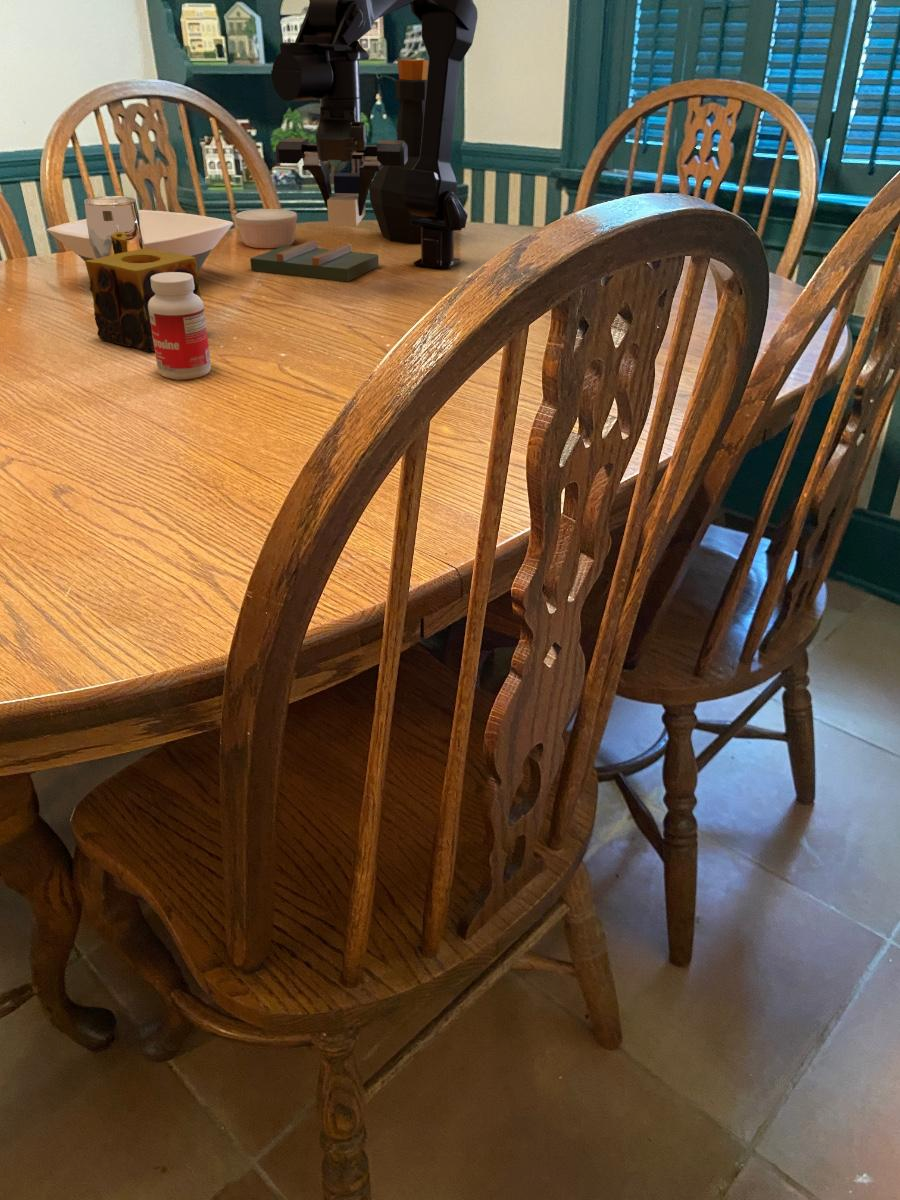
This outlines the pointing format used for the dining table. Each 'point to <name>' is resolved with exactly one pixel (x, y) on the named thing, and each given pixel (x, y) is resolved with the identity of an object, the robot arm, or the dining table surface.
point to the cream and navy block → (345, 201)
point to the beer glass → (113, 225)
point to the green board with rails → (315, 262)
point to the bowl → (156, 234)
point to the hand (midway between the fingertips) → (345, 215)
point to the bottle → (409, 128)
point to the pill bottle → (178, 327)
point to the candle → (131, 292)
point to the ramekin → (267, 227)
